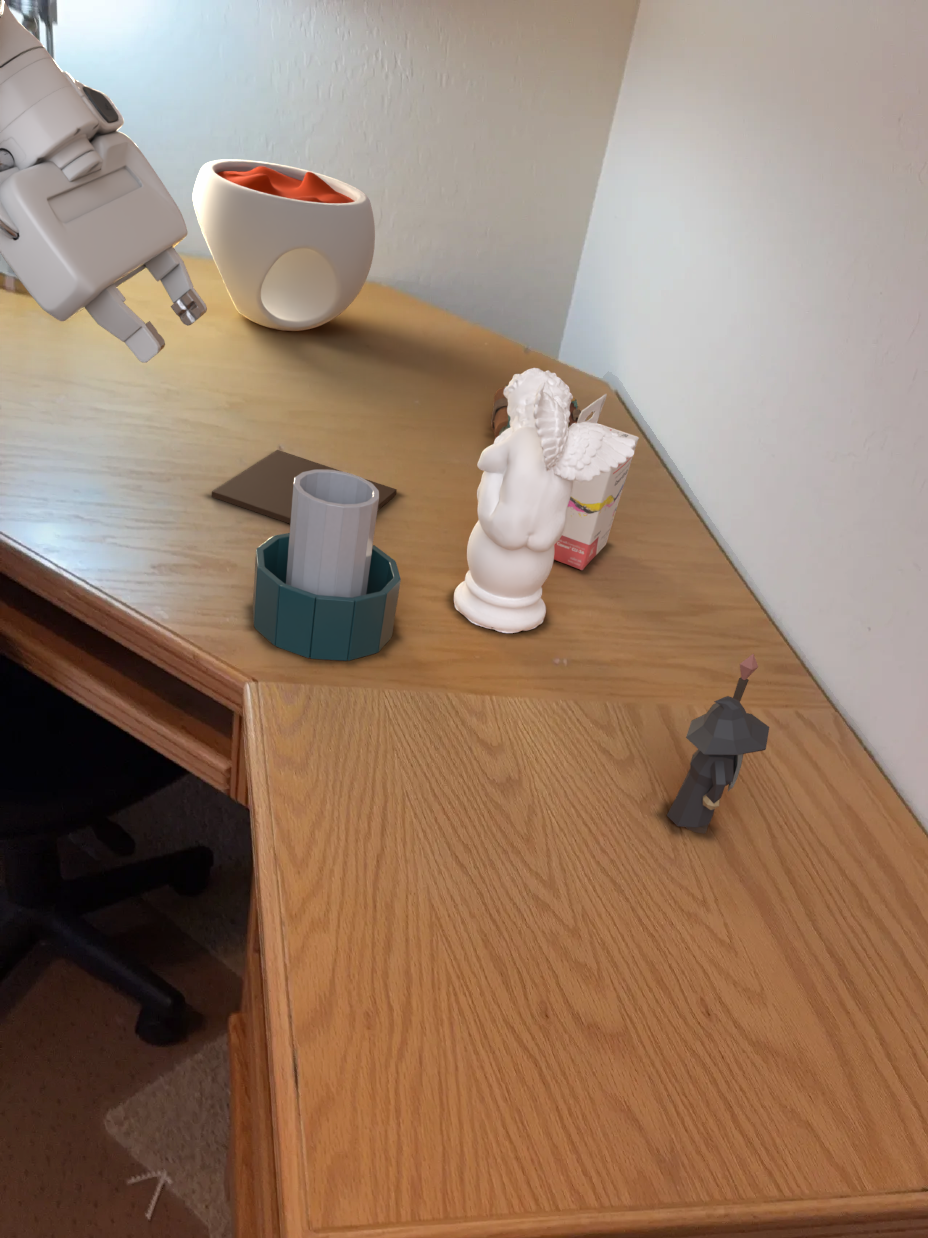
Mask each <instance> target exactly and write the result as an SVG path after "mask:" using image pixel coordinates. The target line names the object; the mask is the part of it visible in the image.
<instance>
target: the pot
mask: <svg viewBox="0 0 928 1238" xmlns="http://www.w3.org/2000/svg"><path fill="white" fill-rule="evenodd" d="M192 202H193V203H192V204H193V209H194V213H195V215H196V219H197V222H198V225H199V227H200V230H201V234H202V235H203V238H204V240H205V242H206V245H207V248H208V249H209V252H210V255H211V257H212V259H213V261H214V263H215V266H216V269H217V271H218V273H219V275H220V278H221V280H222V283H223V284H224V287H225V289H226V291H227V294H228V295H229V297H230V299H231V301H232V303H233V306H234V308H235V309H236V311H237V313H238V314H239V315H241V316H242V317H245V318H246V319H248V320H249V321H251V322H253V323H255V324H257V325H260V326H262V327H266V328H269V329H272V330H278V331H285V332H287V331H288V332H300V331H307V330H310V329H315V328H318V327H321V326H323V325H325V324H327V323H329V322H331V321H333V320H334V319H335V318H337V317H338V316H340V315H341V314H342V313H343V312H345V311H346V310H347V309H348V308H349V306H350V305H352V304H353V302H354V301H355V299H356V298H357V297H358V295H359V294H360V292H361V291H362V289H363V287H364V286H365V283H366V281H367V278H368V276H369V273H370V270H371V267H372V264H373V259H374V253H375V245H376V228H375V217H374V212H373V208H372V202H371V201H370V197H369V196H368V195H367V194H366V193H365V192H363V191H362V190H360V189H359V188H357V187H355V186H354V185H351V184H350V183H347V182H344V181H342V180H340V179H337V178H335V177H331V176H328V175H325V174H322V173H319V172H315V171H312V170H308V169H304V168H299V167H295V166H291V165H285V164H279V163H274V162H268V161H267V162H266V161H259V160H250V159H233V158H232V159H229V158H228V159H216V160H211V161H208V162H206V163H204V164H203V165H202V166H201V168H200V169H199V171H198V174H197V176H196V180H195V183H194V186H193V191H192Z"/></svg>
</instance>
